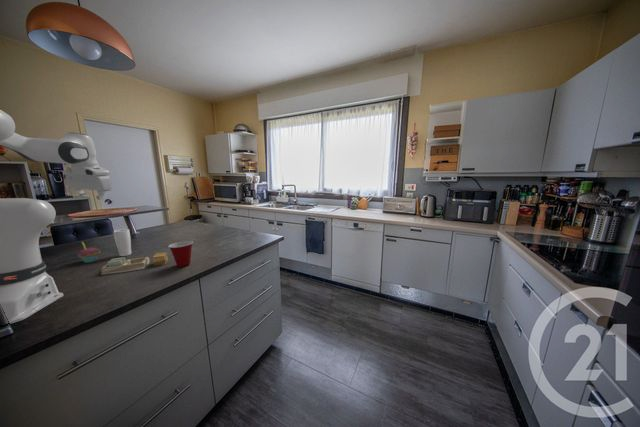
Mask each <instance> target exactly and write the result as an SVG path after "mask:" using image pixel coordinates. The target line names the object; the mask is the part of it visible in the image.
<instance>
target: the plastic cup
mask: <svg viewBox="0 0 640 427" xmlns="http://www.w3.org/2000/svg"><path fill="white" fill-rule="evenodd" d="M193 243H194V241H192V240H184V241H179V242H175V243H174V242H173V243H171V244H169V245H168V248H169V249H170V251H171V253H172V256H173V257H172V258H173V260H174V262H175V264H176V266H177V267H178V268H185V267H188V266H190V264H191V257H192V247H193Z"/></svg>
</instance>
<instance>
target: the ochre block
mask: <svg viewBox="0 0 640 427" xmlns="http://www.w3.org/2000/svg"><path fill="white" fill-rule="evenodd" d="M152 261H153V267H155V266H163V265H166V264H167V263H168V262H169V261H168V253H167V252H159V253H155V254H154V255H153V256H152Z"/></svg>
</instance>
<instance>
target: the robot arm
mask: <svg viewBox="0 0 640 427" xmlns="http://www.w3.org/2000/svg"><path fill="white" fill-rule="evenodd" d="M0 147H3V148H6V149H8V150H11V151H13V152H14V153H16V154H18V155H19V156H21V157H22V158H23V159H25V160H28V161H29V162H33V163H50V164H51V163H52V164H63V165H64V164H67V165H70V167H68V168H67V169H66V173H65V182H66V186H67V187H68V188H73V189H75V191H76V192H77V193H78V196H79V198H86V197H87V194H86V193H85V191H84V190H89V191H96V192H97V195H96V200H97V201H98V200H99V201H102V200H104V195H105V193H106V192H110V191H111V190H112V189H113V186H112V180H111V177H110V176H109V175H110V170H108V169H106V168H104V167H102V166H100V165H99V162H98V160H97V150H96V145H95V142H94V140H93V139H92V137H91V136H90V135H87V134H84V133H79V132H72V131H71V132H66V133H65V135H64V136H63V137H61V138H57V139H55V138H54V139H52V138H44V137H34V136H30V135H29V136H27V135H24V136H23V135H21V134H20V133H16V124H15V120H14V119H13V118H12V116H11V115H9V114H8V113H6V112H5V111H3V110H2V109H0ZM56 214H57V212H56V209H55V207H54V206H53V205H52V204H51V203H50V202H48V201H46V200H42V199H36V198H28V197H12V198H10V197H7V198H5V197H4V198H1V197H0V303H1V305H2V308H3V310H4V312H5V315H6V317H7V319H8V321H9V323H10V324H9V325H11V324H14V323H17V322H20V321H23V320H25V319H27V318H29V317H31V316H32V315H34V314H35V313H37V312H38V311H40V310H42V309H44V308H45V307H47V306H48V305H51V304H52V303H54V302H56V301H57V300H59V299H61V298H62V297H64V292H62V291H61V292H59V290H58V287H57V285H56V283H55V282H56V281H55V280H54V277H52V276H51V275H49V274H48V273H47V272H46V271H47V265H46V264H45V261H44V260H43V259H42V254H41V250H40V243H39V241H40V237H41V234H42V233H43V231H44V229H45V228H46V227H48V226H49V225H51V224H52V223H53V222H54V220H55V219H56V216H57V215H56Z"/></svg>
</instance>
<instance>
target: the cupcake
mask: <svg viewBox="0 0 640 427" xmlns="http://www.w3.org/2000/svg"><path fill="white" fill-rule="evenodd" d="M81 244H82V247H83V249H82V250H80V251H78V252H77V253H76V256H77V258H80V259H81V260H82V261H83V262H84V263H92V262H96V261H97V260H98V256H99V255H100V254H101V250H100V249H99V248H97V247H88V248H87V247H86V245H85V243H84V242H83V241H81Z"/></svg>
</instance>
